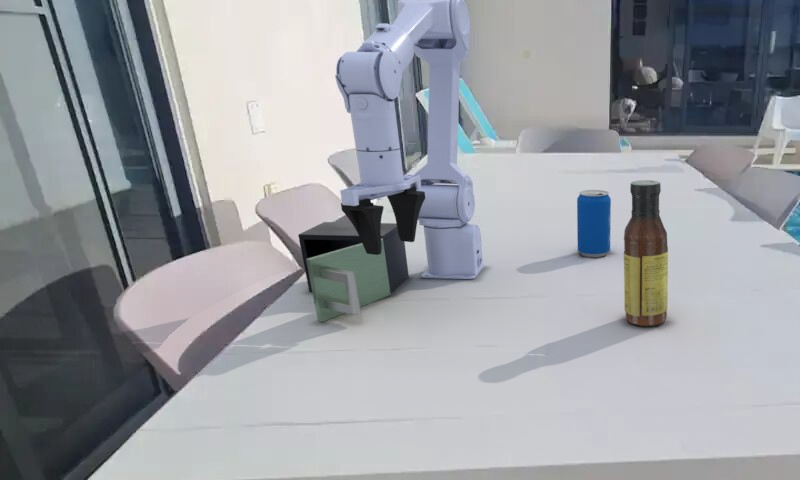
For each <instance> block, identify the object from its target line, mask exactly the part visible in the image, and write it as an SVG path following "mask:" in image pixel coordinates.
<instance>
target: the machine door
mask: <svg viewBox="0 0 800 480" xmlns="http://www.w3.org/2000/svg"><path fill="white" fill-rule="evenodd" d="M381 244H382V250H381V254H379V255H373V254H367V253H366V251H365V248H364V246H363V244H362V243H360V244H357V245H353V246H350V247H346V248H343V249H339V250H336V251H332V252H329V253H325V254H322V255H318V256H315V257H311V258H308V259H306V261H307V266H308V272H309V277H310V282H311V287H312V292H311V293H312V297H313V302H314V308H315V312H316V318H317V321H318V322H319V323H323V322H326V321H328V320H331V319H334V318H336V317H339V316H341V315H343V314H347V315H352V316H356V315H360V314H361V312H362V311H361V308H363V307H364V306H367V305H370V304H372V303H374V302H377V301H380V300H382V299H385V298H387V297H390V296H391V295H392V293H391V294H390V287H389V280H388V272H387V265H386V258H385V251H384V244H383V239H382V238H381Z"/></svg>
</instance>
